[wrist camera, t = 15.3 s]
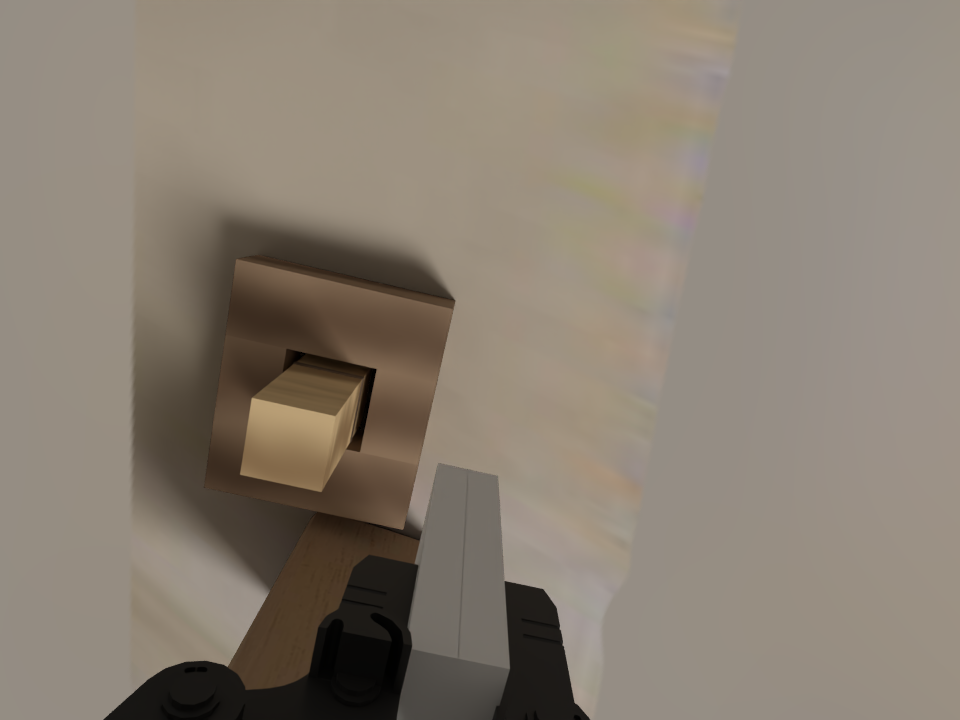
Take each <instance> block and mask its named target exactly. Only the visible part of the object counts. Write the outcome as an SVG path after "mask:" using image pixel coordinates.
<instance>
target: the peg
mask: <svg viewBox="0 0 960 720" xmlns="http://www.w3.org/2000/svg"><path fill="white" fill-rule="evenodd" d="M372 370H373V368H370V367H366V366H361V365H357V364H353V363H348V362H344V361H339V360H335V359H330V358H326V357H321V356H317V355H313V354H308V353H307V354H306V355H304V356H303V357H302V358H301V359H299V360H298V361H297V362H296V361H295V362H294V363H293V365H292V366H291V367H289V368H288V369H287V370H286V371H285V372H283V373H282V374H281V375H280V376H278V377H277V378H276V379H275V380H273V381H272V382H271V383H270V384H268V385H267V386H266V387H265V388H263V389H262V390H261V391H260V392H258V393H257V394H256V395H255V396H253V397H252V400H251V407H250V413H249V420H248V426H247V433H246V439H245V446H244V452H243V459H242V465H241V472H240V475H244V476H248V477H253V478H258V479H262V480H267V481H272V482H276V483H281V484H286V485H291V486H295V487H300V488H305V489H309V490H314V491H319V492H322V490H323V488H324V487H325V485H326V483H327V481H328V480H329V478H330V476H331V474H332V473H333V471H334V469H335V467H336V466H337V464H338V462H339V460H340V459H341V457H342V455H343V453H344V452H345V450H346V448H347V446H348V445H349V443H351V441H352V438H353V436H354V434H355V433H356V431H357V429H358V427H359V426H360V424H361V422H362V420H363V415H364V410H365V405H366V400H367V395H368V390H369V385H370V380H371V375H372Z"/></svg>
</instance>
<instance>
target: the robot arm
mask: <svg viewBox="0 0 960 720" xmlns="http://www.w3.org/2000/svg"><path fill="white" fill-rule="evenodd" d="M562 644H563V640H562V634H561V630H560V624H559V619H558V613H557V608H556V606H555V605H554V603H553V602H552V601H551V599H550V598H549V596H548V595H547V594H546V592H545V591H544V590H543V589H540V588H535V587H530V586H526V585H521V584H516V583H511V582H507V581H504V565H503V549H502V532H501V516H500V500H499V484H498V476H496V475H491V474H487V473H482V472H477V471H473V470H468V469H464V468H459V467H455V466H450V465H445V464H441V463H438V466H437V470H436V474H435V479H434V483H433V487H432V492H431V496H430V500H429V504H428V509H427V513H426V517H425V522H424V526H423V530H422V534H421V539H420V543H419V547H418V551H417V556H416V560H415V564H412V563H407V562H402V561H398V560H393V559H388V558H383V557H379V556H374V555H368V556H367V557H365V558H364V559H363V560H362V561H360V562H359V563H358V564H357V565H355V566H354V567H353V570H352V572H351V575H350V578H349V581H348V583H347V587H346V589H345V592H344V594H343V597H342V601H341V603H340V605H339V608H338V609H337V610H336V611H334V612H332V613H330V614H328V615H327V616H326V617H325V618H324V619H323V621H322V622H321V624H320V625H319V626H318V630H317V635H316V640H315V645H314V650H313V655H312V661H311V666H310V671H309V673H308V674H307V675H305V676H304V677H302V678H300V679H299V680H297V681H295V682H292V683H289V684H287V685H284V686H279V687H273V688H265V689H251V690H245V685H244V684H243V682H242V680H241V678H240V677H239V675H238V674H237V673H236V672H234V671H233V670H231V669H229V668H228V667H226V666H225V665H222V664H217V663H213V662H209V661H194V662H184V663H181V664H177V665H174V666H171V667H168V668H165V669H164V670H162V671H160V672H159V673H157V674H156V675H154V676H153V677H151V678H150V679H148V680H147V681H146V682H145V683H144V684H143V685H141V686H140V687H139V688H138V689H137V690H136V691H135V692H134V693H133V694H132V695H130V696H129V697H128V698H127V699H126V700H125V701H124V702H123V703H121V705H119V706H118V707H117V708H116V709H115V710H114V711H112V713H110V714H109V715H108V716H107V717H106V718H105V719H104V720H590V719H589V717H588V716H587V715H586V714H585V713H584V712H583V711H582V709H581V708H580V707H579V706H578V705H577V704H575V703H574V698H573V693H572V687H571V682H570V677H569V671H568V666H567V661H566V656H565V650H564V646H562Z"/></svg>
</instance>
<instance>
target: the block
mask: <svg viewBox="0 0 960 720" xmlns="http://www.w3.org/2000/svg"><path fill="white" fill-rule="evenodd" d="M419 543H420V541H419V540H416V539H413V538H410V537H407V536H404V535H401V534H398V533H395V532H392V531H389V530H386V529H383V528H380V527H377V526H374V525H371V524H368V523H365V522H362V521H359V520H355V519H350V518H345V517H340V516H336V515H331V514H326V513H322V512H317V513H316V514H315V515H314V516H313V517H312V518H311V519H310V521H309V523H308V525H307V526H306V528H305V530H304V532H303V533H302V535H301V537H300V539H299V541H298V542H297V544H296V546H295V548H294V550H293V551H292V553H291V555H290V557H289V559H288V560H287V562H286V564H285V566H284V567H283V569H282V571H281V573H280V575H279V576H278V578H277V580H276V582H275V584H274V585H273V587H272V589H271V591H270V593H269V594H268V596H267V598H266V600H265V601H264V603H263V605H262V607H261V609H260V610H259V612H258V614H257V616H256V618H255V619H254V621H253V623H252V625H251V626H250V628H249V630H248V632H247V634H246V635H245V637H244V639H243V641H242V643H241V644H240V646H239V648H238V650H237V652H236V653H235V655H234V657H233V659H232V660H231V662H230V664H229V666H228V668H229V669H231V670H233V671H234V672H236V673H237V674H238V675H239V677H240V678H241V680H242V682H243V684H244V685H245V690H251V689H265V688H273V687H279V686H284V685H287V684H289V683H292V682H295V681H297V680H299V679H300V678H302V677H304V676H305V675H307V674H308V673H309V671H310V666H311V661H312V655H313V650H314V645H315V640H316V635H317V630H318V626H319V625H320V624H321V622H322V621H323V619H324V618H325V617H326V616H327V615H328V614H330V613H332V612H334V611H336V610H337V609H338V608H339V605H340V603H341V601H342V597H343V594H344V592H345V589H346V587H347V583H348V581H349V578H350V575H351V572H352V570H353V567H354V566H355V565H357V564H358V563H359V562H360V561H362V560H363V559H364V558H365V557H367V556H368V555H374V556H379V557H383V558H388V559H393V560H398V561H402V562H407V563H412V564H415V560H416V556H417V551H418V547H419Z"/></svg>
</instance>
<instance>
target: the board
mask: <svg viewBox="0 0 960 720" xmlns="http://www.w3.org/2000/svg"><path fill="white" fill-rule="evenodd" d="M454 305H455V300H451V299H447V298H442V297H438V296H434V295H429V294H425V293H421V292H416V291H412V290H408V289H404V288H399V287H395V286H391V285H386V284H382V283H378V282H373V281H369V280H365V279H360V278H356V277H352V276H348V275H343V274H339V273H335V272H330V271H326V270H322V269H317V268H313V267H309V266H305V265H300V264H296V263H292V262H287V261H283V260H279V259H274V258H270V257H266V256H261V255H255V256H249V257H244V258H239V259H236V263H235V270H234V277H233V284H232V291H231V298H230V306H229V313H228V320H227V327H226V334H225V341H224V348H223V356H222V363H221V370H220V377H219V384H218V391H217V398H216V406H215V413H214V420H213V427H212V434H211V441H210V448H209V456H208V463H207V470H206V477H205V484H204V488H209V489H213V490H218V491H223V492H227V493H232V494H237V495H241V496H246V497H251V498H256V499H260V500H265V501H270V502H274V503H279V504H284V505H289V506H293V507H298V508H303V509H307V510H312V511H317V512H322V513H326V514H331V515H336V516H340V517H345V518H350V519H355V520H359V521H364V522H369V523H373V524H378V525H383V526H388V527H392V528H397V529H402V530H403V529H404V524H405V520H406V516H407V512H408V508H409V504H410V500H411V495H412V491H413V487H414V482H415V478H416V473H417V469H418V464H419V460H420V456H421V451H422V447H423V442H424V438H425V433H426V429H427V424H428V420H429V416H430V411H431V407H432V402H433V398H434V393H435V389H436V385H437V380H438V376H439V371H440V367H441V362H442V358H443V354H444V349H445V345H446V340H447V336H448V331H449V327H450V322H451V318H452V314H453V309H454ZM301 352H304V353H308V354H313V355H317V356H321V357H326V358H330V359H335V360H339V361H344V362H348V363H353V364H357V365H361V366H366V367H370V368H375V369H377V371H376V376H375V381H374V386H373V391H372V396H371V401H370V406H369V411H368V416H367V420H366V425H365V430H359V429H357V431H356V433H355V434H354V436H353V438H352V441H351V443H349V445H348V446H347V448H346V450H345V452H344V453H343V455H342V457H341V459H340V460H339V462H338V464H337V466H336V467H335V469H334V471H333V473H332V474H331V476H330V478H329V480H328V481H327V483H326V485H325V487H324V488H323V490H322V492H319V491H314V490H309V489H305V488H300V487H295V486H291V485H286V484H281V483H276V482H272V481H267V480H262V479H258V478H253V477H248V476H244V475H240V472H241V465H242V459H243V452H244V446H245V439H246V433H247V426H248V420H249V413H250V407H251V400H252V397H253V396H255V395H256V394H257V393H258V392H260V391H261V390H262V389H263V388H265V387H266V386H267V385H268V384H270V383H271V382H272V381H273V380H275V379H276V378H277V377H278V376H280V375H281V374H282V373H283V372H285V371H286V370H287V369H288V368H289V367H291V366H292V365H293V363H294V362H295V361H296V362H297V361H298V360H299V359H300V355H301Z"/></svg>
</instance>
